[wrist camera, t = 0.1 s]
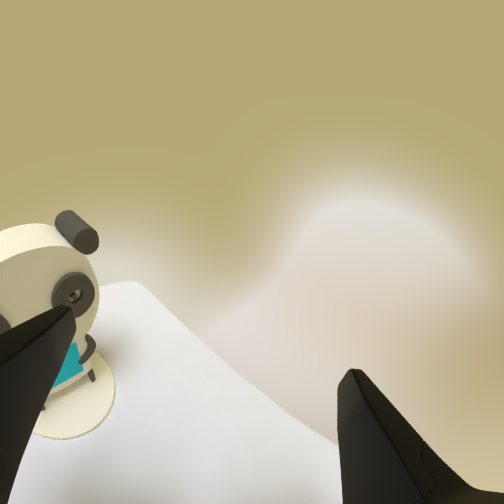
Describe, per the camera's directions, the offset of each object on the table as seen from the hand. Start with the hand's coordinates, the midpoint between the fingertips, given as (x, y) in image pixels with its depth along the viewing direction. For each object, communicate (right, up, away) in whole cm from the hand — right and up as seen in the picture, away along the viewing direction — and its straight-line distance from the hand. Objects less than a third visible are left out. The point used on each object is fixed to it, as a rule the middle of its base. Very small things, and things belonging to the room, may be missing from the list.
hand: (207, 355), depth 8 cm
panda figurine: (-16, -9, +11) cm, 22 cm away
